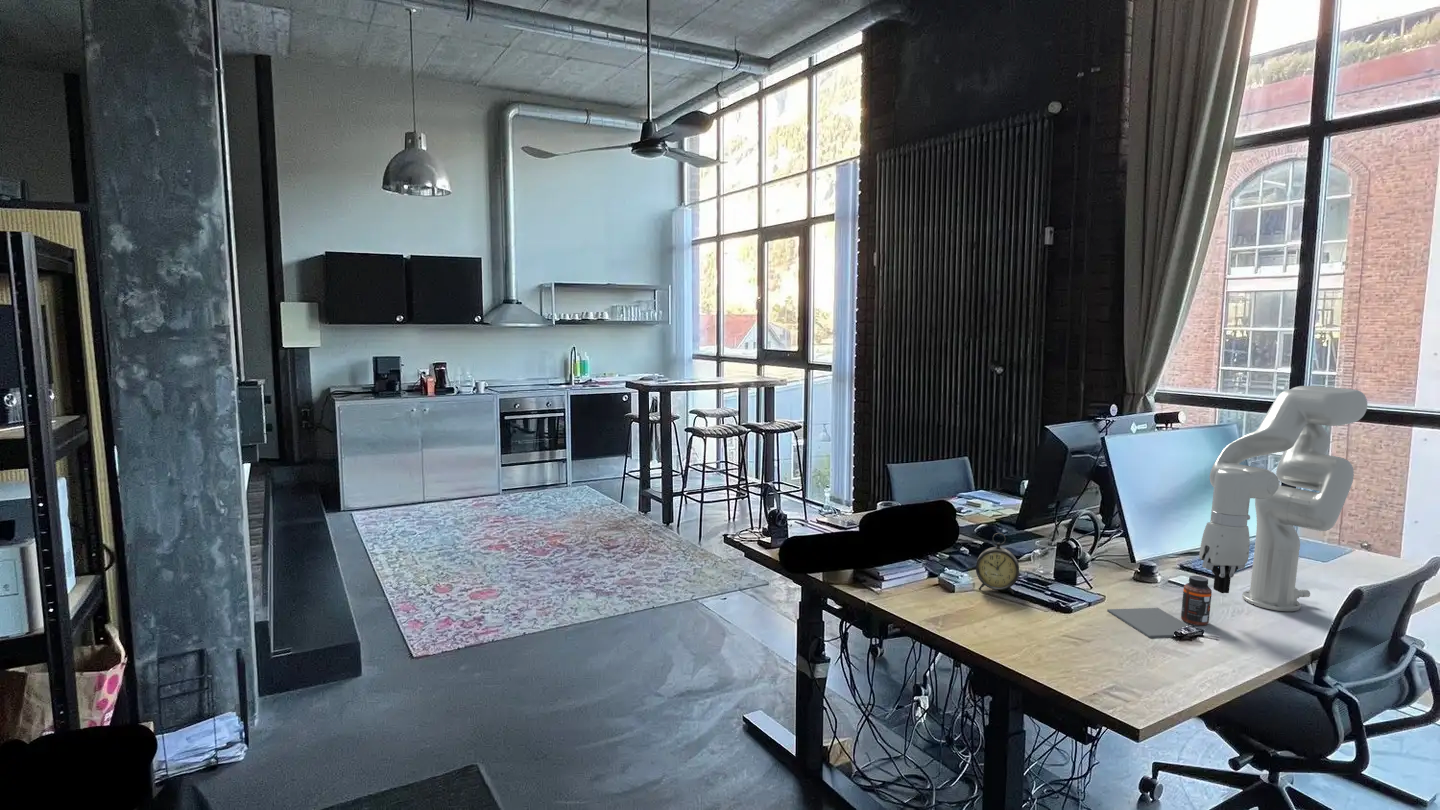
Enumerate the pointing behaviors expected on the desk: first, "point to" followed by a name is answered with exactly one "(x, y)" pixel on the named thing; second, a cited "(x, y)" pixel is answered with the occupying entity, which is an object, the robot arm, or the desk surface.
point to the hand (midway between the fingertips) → (1221, 591)
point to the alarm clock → (997, 568)
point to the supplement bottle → (1196, 601)
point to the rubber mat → (1149, 621)
